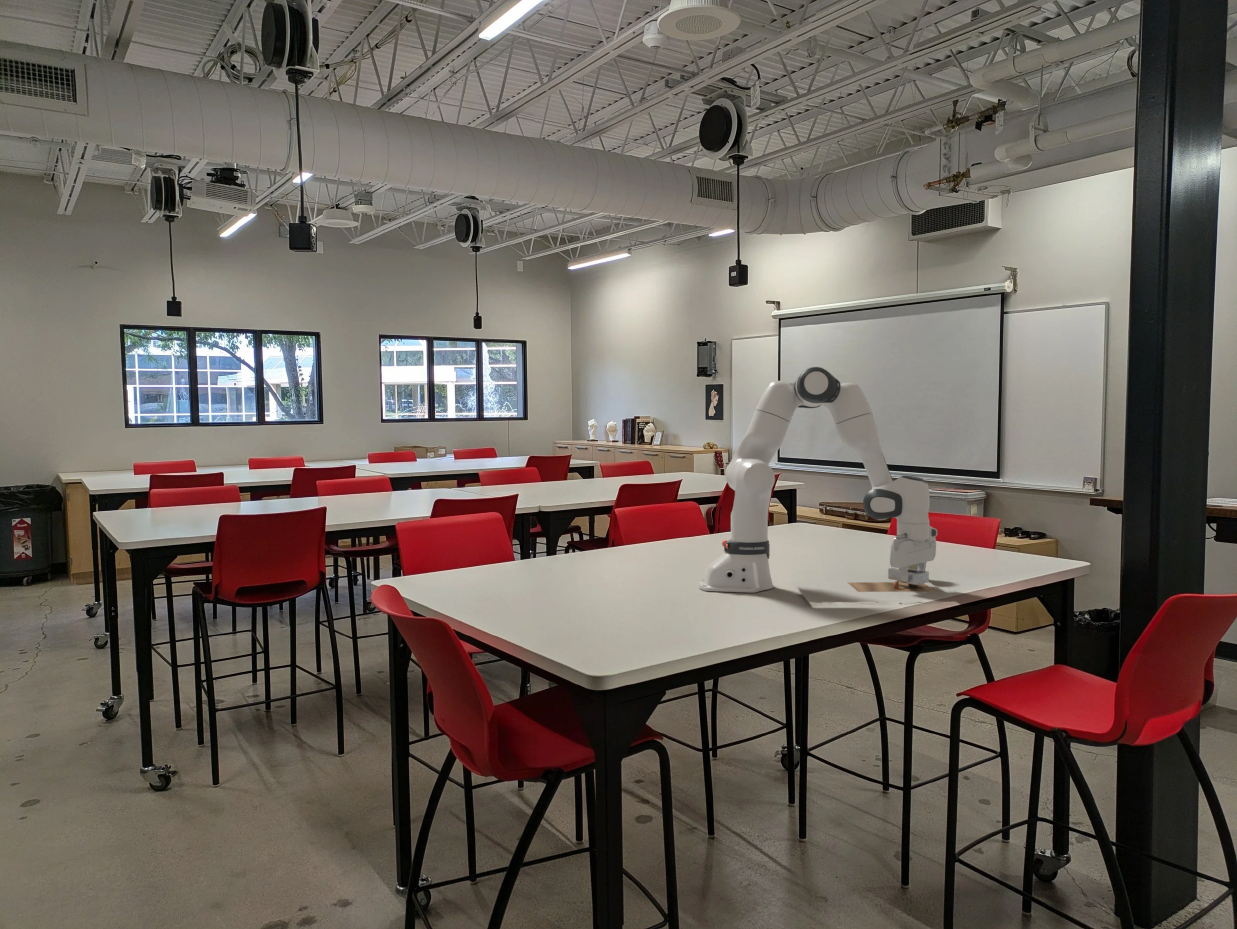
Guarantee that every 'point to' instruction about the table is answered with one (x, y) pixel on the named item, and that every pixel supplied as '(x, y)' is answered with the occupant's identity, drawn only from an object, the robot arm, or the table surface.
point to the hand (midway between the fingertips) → (912, 579)
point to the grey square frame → (915, 576)
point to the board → (888, 586)
